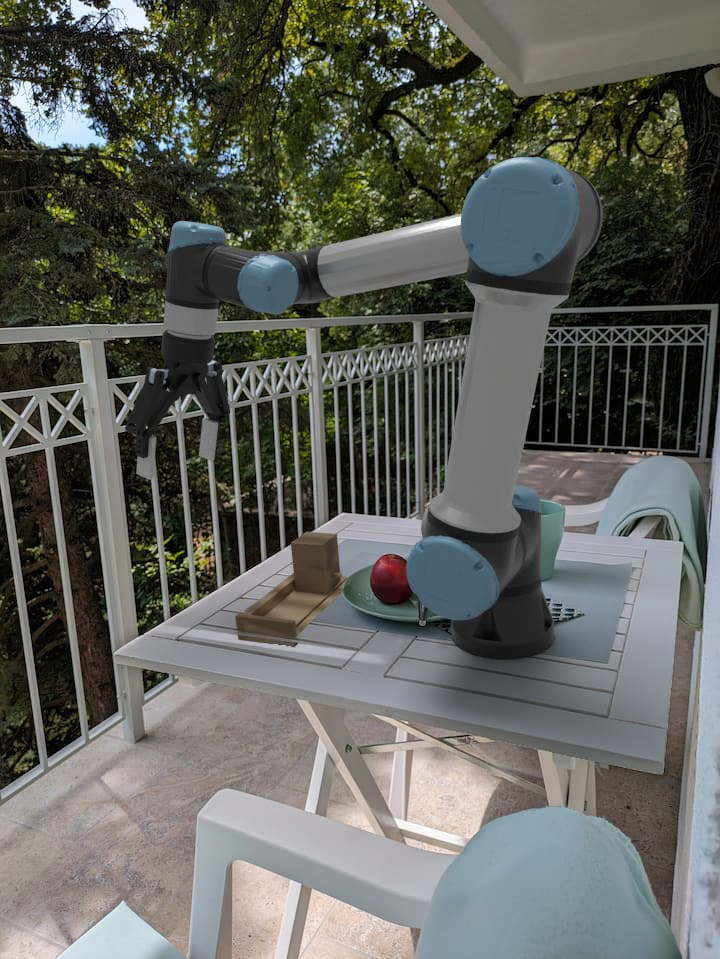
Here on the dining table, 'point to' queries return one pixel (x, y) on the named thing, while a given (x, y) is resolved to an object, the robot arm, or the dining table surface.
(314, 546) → the brown wooden block
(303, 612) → the brown wooden tray
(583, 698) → the dining table surface
